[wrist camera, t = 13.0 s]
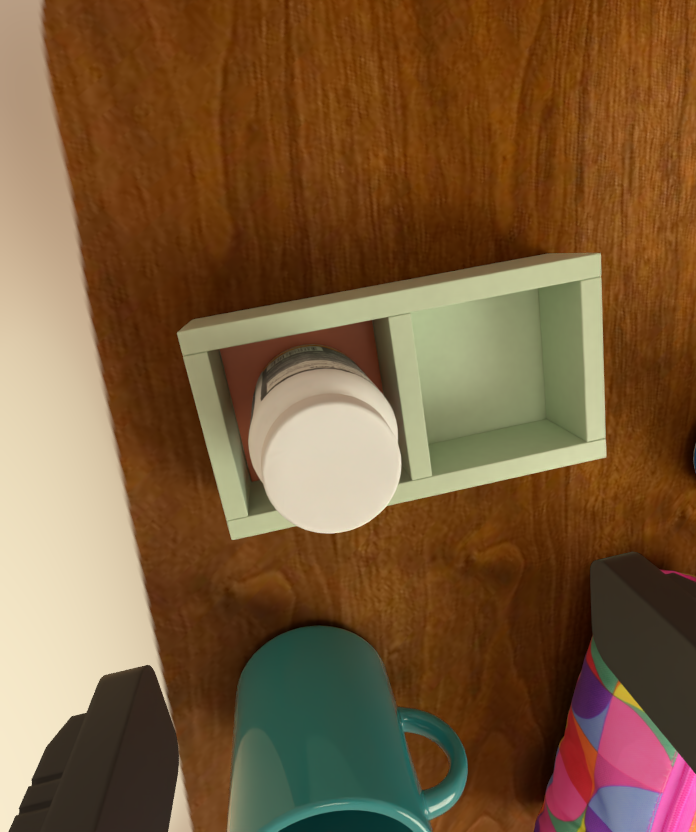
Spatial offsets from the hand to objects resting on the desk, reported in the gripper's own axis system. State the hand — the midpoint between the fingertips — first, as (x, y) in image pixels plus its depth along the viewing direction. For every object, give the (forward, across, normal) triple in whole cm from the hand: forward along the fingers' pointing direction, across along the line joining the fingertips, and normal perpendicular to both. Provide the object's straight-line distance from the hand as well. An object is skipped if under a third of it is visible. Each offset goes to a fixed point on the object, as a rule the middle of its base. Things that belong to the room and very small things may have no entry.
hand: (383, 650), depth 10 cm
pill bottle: (+19, 0, 0) cm, 19 cm away
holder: (+19, -4, 0) cm, 20 cm away
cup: (+19, +2, +18) cm, 27 cm away
